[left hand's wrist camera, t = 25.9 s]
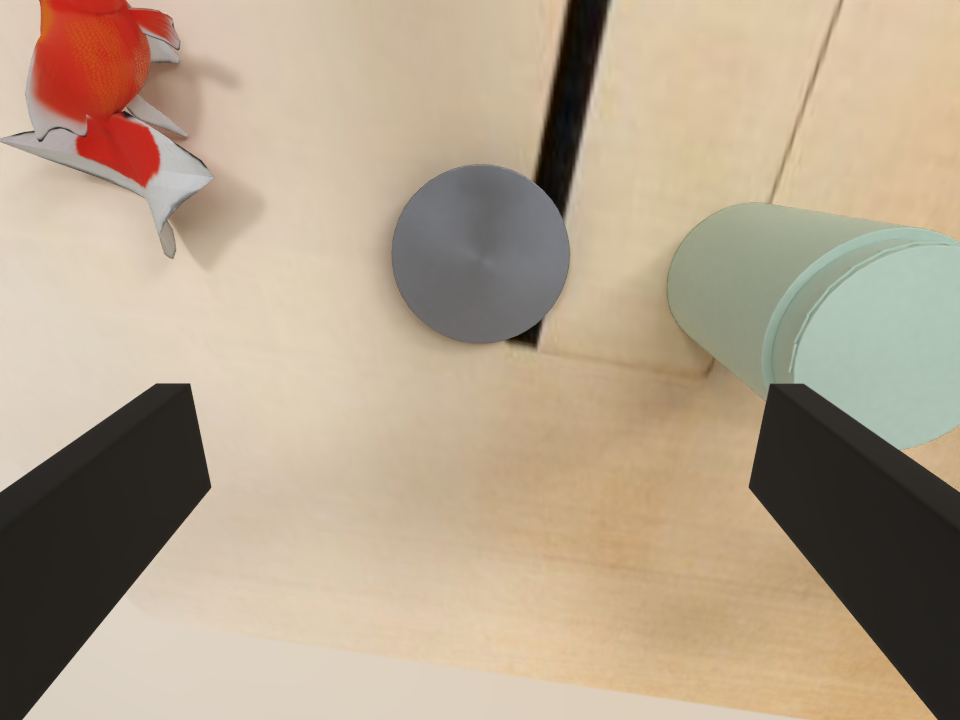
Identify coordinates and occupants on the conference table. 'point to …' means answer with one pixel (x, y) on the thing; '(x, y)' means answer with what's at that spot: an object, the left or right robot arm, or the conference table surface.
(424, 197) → the lid
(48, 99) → the fish
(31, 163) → the conference table surface
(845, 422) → the left robot arm
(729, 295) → the jar
